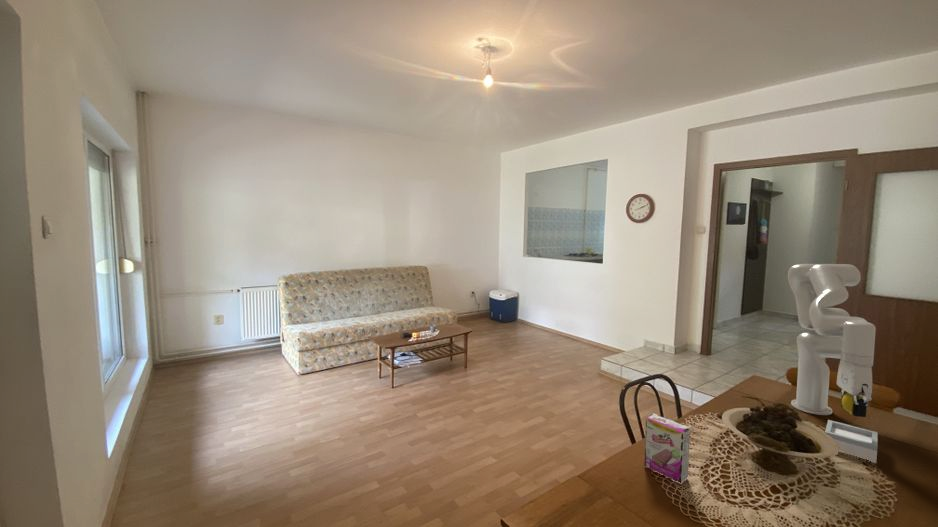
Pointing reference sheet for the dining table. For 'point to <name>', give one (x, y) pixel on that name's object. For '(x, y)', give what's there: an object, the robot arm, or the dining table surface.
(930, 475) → the dining table surface
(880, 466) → the dining table surface
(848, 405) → the lemon
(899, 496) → the dining table surface
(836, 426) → the tray
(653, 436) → the candy bar box
